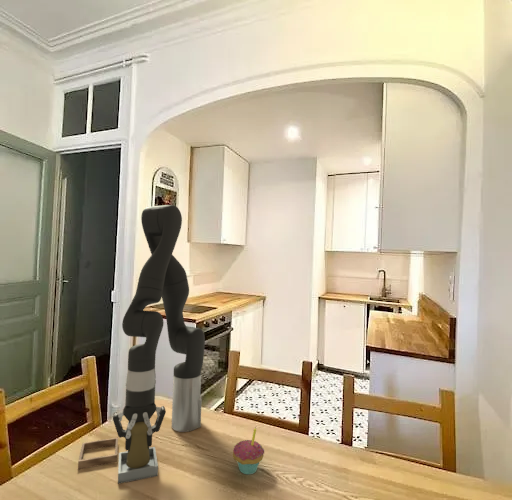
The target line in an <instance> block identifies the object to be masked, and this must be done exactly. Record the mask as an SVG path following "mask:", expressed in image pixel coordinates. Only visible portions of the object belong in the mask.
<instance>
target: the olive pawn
mask: <svg viewBox="0 0 512 500" xmlns="http://www.w3.org/2000/svg"><path fill="white" fill-rule="evenodd" d="M148 429H149V428H148V427H147V425H146V424H145V422H137V423H135V425H134V426H133V427H132V430H130V432H131V446H130V451H129V452H128V455H127V461H126V465H127V466H128V467H129V468H140V467H143V466H145V465H147V464H148V463H149V461H150V456H149V449H148V446H147V431H148Z"/></svg>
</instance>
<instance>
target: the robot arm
mask: <svg viewBox="0 0 512 500" xmlns="http://www.w3.org/2000/svg"><path fill="white" fill-rule="evenodd" d="M140 218H141V226H142V230H143V233H144V236H145V239H146V242H147V245H148V248H149V251H150V253H151V255H150V256H149V257H148V259H147V260H146V261H145V263H144V264H143V266H142V268H141V270H140V273H139V278H138V281H137V287H136V291H135V294H134V296H133V299H132V300H131V303H130V304H129V307H128V308H127V310H126V311H125V314H124V316H123V318H122V323H121V327H122V330H123V333H124V334H125V335H126V336H128V337H135V338H137V337H138V338H145V341H144V343H142V344H136V345H133V346H131V347H130V348H129V350H128V354H127V373H126V376H125V377H126V379H125V381H126V383H125V403H124V404H125V405H124V407H123V409H122V410H121V411H118V412H116V411H115V412H113V413H112V421H113V424H114V427H115V430H116V433H117V437H118V438H124V439H125V443H124V445H125V447H124V449H125V451H128V452H129V451H130V446H131V432H130V430H132V427H133V426H134V425H135V423H137V422H145V424H146V425H147V427H148V428H149V429H148V431H147V446H148V449H149V448H150V447H152V445H153V434H154V433H158V432H159V431H160V429H161V426H162V423H163V421H164V419H165V415H166V408H165V406H164V405H162V406H161V407H160V406H157V404H156V384H157V380H156V378H157V377H156V354H157V349H158V344H159V340H160V337H161V335H162V333H163V332H162V331H163V327H164V324H165V323H164V322H165V321H164V317H163V316H162V314H161V313H160V312H159V311H157V310H155V311H153V310H145V309H146V307H147V306H149V305H153V304H157V303H160V302H161V300H162V303H163V310H164V315H165V317H166V318H165V320H166V327H167V328H166V329H167V335H168V342H169V345H170V348H171V350H172V352H175V353H176V354H182V355H185V360H184V361H183V362H180V363H177V364H175V366H174V367H173V376H172V377H173V379H172V380H173V382H172V404H171V406H172V407H171V409H172V411H171V428H172V430H174V431H176V432H179V433H181V432H183V433H185V432H186V433H187V432H191V431H194V430H196V429H200V428H201V427H202V424H201V423H202V404H203V403H202V397H201V386H202V385H201V384H202V383H201V381H202V377H201V376H202V369H203V365H204V356H205V345H206V338H205V332H204V331H203V329H202V328H199V327H193V326H188V325H186V323H185V321H184V313H183V312H184V307H185V305H186V302H187V301H188V298H189V295H190V285H189V280H188V276H187V275H188V274H187V272H186V270H185V268H184V266H183V265H182V264H181V263H180V262H179V260H178V259H177V258H176V257H175V256H174V255H173V253H174V250H175V247H176V244H177V241H178V238H179V235H180V232H181V230H182V223H183V217H182V212H181V211H180V208H178V206H176V205H174V204H164V205H153V206H152V205H151V206H147V207H145V208H143V210H142V212H141V217H140ZM155 413H156V416H157V417H156V420H155V421H154V425H152V424H151V423H152V422H151V418H152V417H153V416H154V414H155ZM123 416H124V417H125V418H126V420H127V426H126V429H124V428H123V425H122V420H123Z"/></svg>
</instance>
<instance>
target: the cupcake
mask: <svg viewBox="0 0 512 500" xmlns="http://www.w3.org/2000/svg"><path fill="white" fill-rule="evenodd" d="M256 433H257V425H256V426H255V428H253V433H252V437H251V438H252V439H246V440H241V441H239V442H237V443H236V444H235V445H234V446H233V450H232V458H233V460H235V462H236V463H237V465H238V470H239V471H240V473H242V474H244V475H253V474H254V473H256V472H257V470H258V467H259V464H260V462H262V461H263V459H264V454H265V449H264V448H263V447H262V445H261V444H260V443H259V442H258V441H256V440H255V438H256V435H257V434H256Z"/></svg>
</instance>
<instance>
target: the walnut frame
mask: <svg viewBox="0 0 512 500" xmlns="http://www.w3.org/2000/svg"><path fill="white" fill-rule="evenodd" d="M118 446H119V436H117V437H113V438H112V437H111V438H104V439H100V440H99V439H98V440H93V441H92V440H91V441H85V442H82V444H81V448H80V452H79V457H78V463H77V470H81V469H82V470H83V469H87V468H92V467H98V466H105V465H109V464H110V465H111V464H115V463H118V449H119V448H118ZM107 447H114V448H115V450H114V454H109V455H103V456H96V457H95V456H94V457H90V458H84V454H85V451H89V450H95V449H96V450H97V449H103V448H107Z"/></svg>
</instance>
